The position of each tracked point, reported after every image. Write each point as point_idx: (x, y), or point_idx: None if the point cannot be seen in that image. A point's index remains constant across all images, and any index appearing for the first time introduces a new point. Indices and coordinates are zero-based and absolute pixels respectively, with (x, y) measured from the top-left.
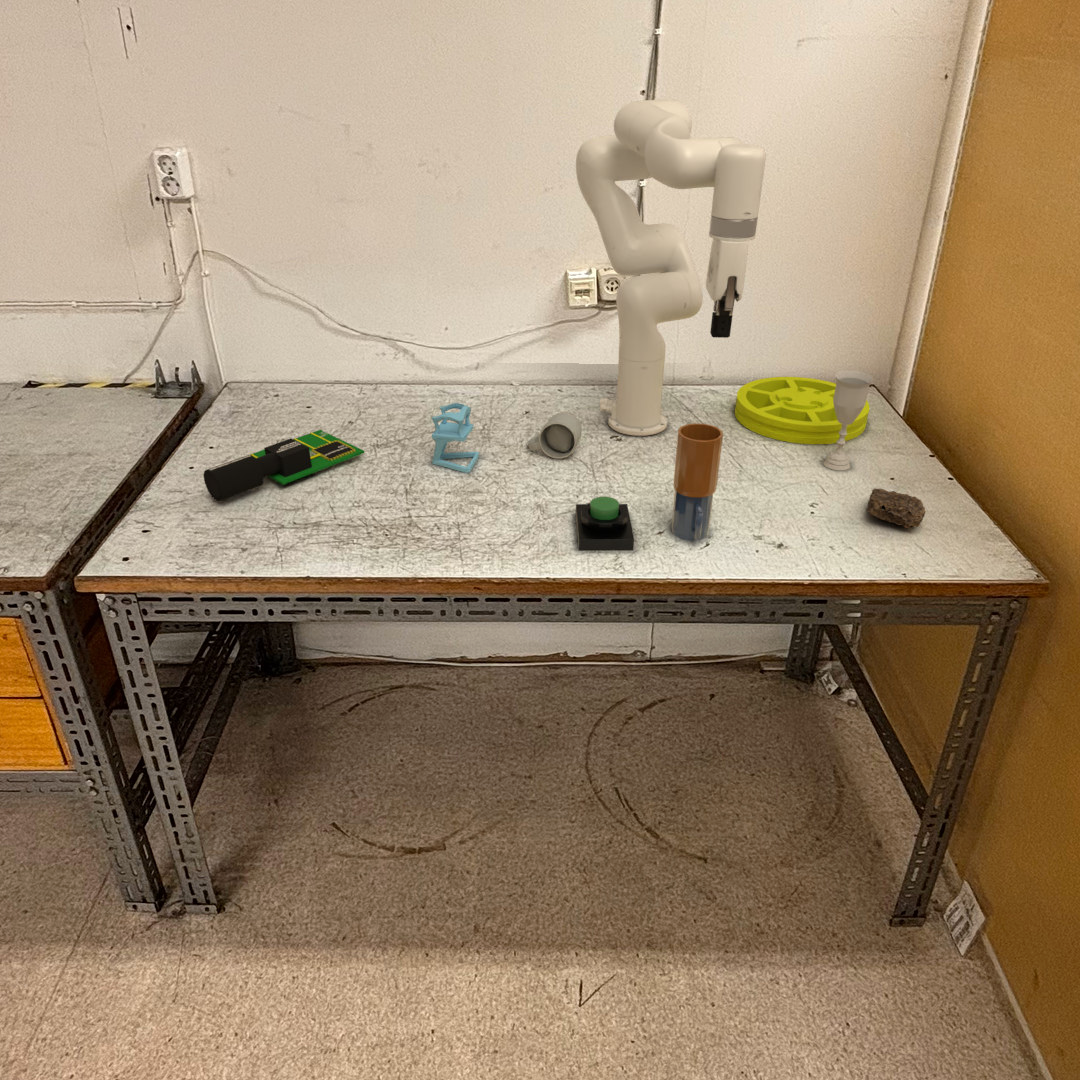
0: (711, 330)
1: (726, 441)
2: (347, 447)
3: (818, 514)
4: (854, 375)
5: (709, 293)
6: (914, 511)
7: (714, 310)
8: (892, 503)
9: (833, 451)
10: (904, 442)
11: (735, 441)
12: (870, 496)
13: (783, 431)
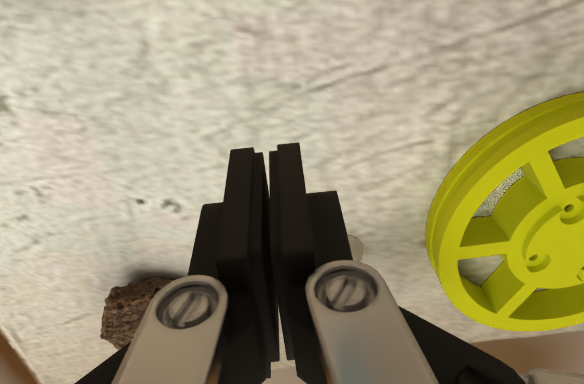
0: (279, 160)
1: (453, 62)
2: None
3: (137, 210)
4: None
5: None
6: (112, 340)
7: (311, 277)
8: (109, 325)
9: (355, 260)
10: None
11: (451, 83)
12: None
13: (456, 187)
